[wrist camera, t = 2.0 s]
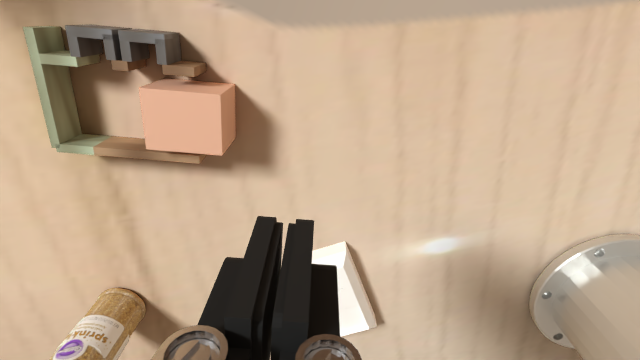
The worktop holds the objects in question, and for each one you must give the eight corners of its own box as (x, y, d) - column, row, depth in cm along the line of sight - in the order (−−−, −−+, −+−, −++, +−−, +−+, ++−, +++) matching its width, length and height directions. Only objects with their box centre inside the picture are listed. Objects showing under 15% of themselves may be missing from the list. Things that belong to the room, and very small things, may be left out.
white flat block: (345, 238, 31) (346, 257, 29) (374, 312, 35) (378, 334, 32) (292, 254, 32) (290, 273, 30) (326, 324, 35) (326, 346, 33)
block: (235, 83, 26) (220, 94, 22) (236, 137, 27) (222, 155, 24) (165, 77, 26) (138, 87, 22) (170, 131, 27) (146, 149, 24)
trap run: (204, 35, 24) (191, 36, 22) (210, 151, 28) (199, 163, 25) (50, 21, 24) (21, 21, 22) (75, 140, 27) (52, 151, 25)
